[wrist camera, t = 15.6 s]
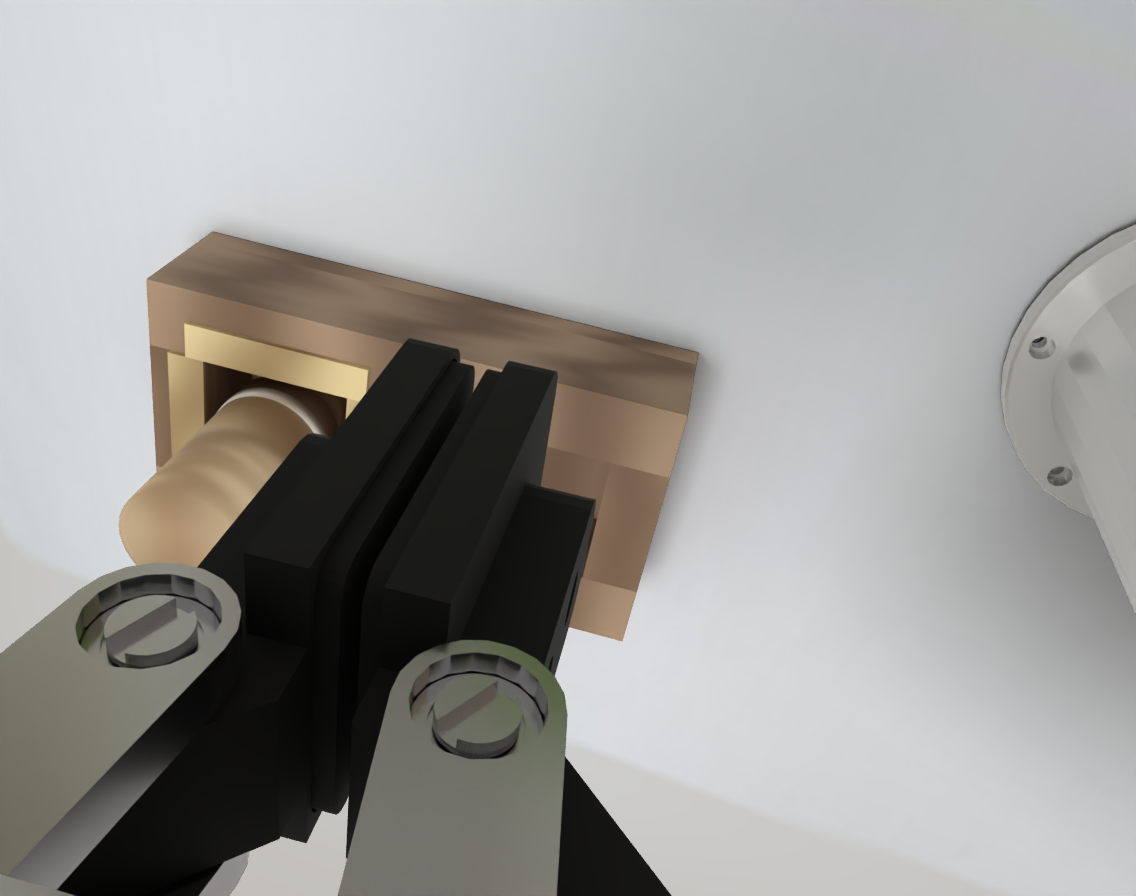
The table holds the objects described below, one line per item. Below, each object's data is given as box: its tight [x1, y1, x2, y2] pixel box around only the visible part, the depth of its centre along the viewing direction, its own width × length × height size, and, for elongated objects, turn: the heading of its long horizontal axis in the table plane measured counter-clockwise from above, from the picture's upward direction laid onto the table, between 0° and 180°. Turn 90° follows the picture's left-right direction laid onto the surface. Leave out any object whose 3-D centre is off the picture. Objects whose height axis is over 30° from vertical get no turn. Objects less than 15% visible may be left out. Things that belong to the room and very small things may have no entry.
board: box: [147, 232, 698, 641], centre depth 41 cm, size 20×11×5 cm, turn 79°
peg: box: [119, 377, 347, 567], centre depth 38 cm, size 4×4×11 cm
